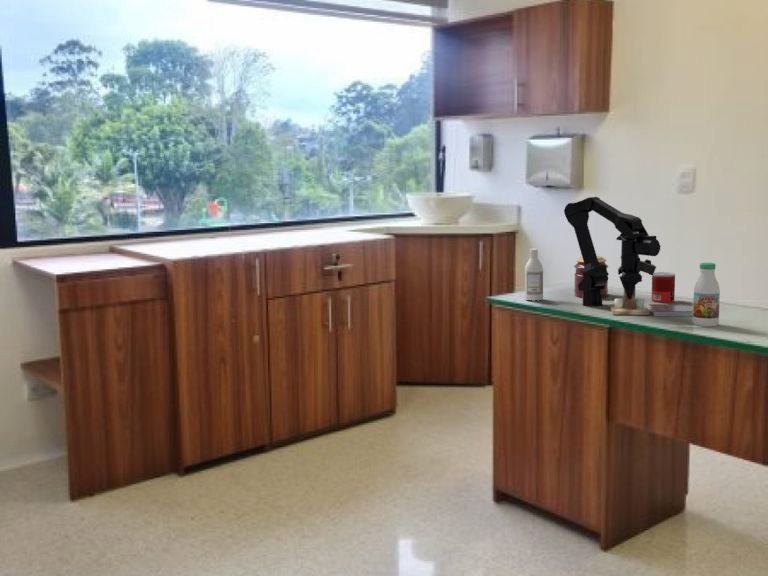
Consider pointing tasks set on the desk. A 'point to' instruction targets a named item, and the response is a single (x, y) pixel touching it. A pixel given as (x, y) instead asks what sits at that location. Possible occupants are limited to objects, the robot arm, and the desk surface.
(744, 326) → the desk surface
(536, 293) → the bath foam
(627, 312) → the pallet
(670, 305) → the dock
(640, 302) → the grey-green round cylinder
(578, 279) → the canister
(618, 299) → the white short cylinder
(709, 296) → the milk bottle
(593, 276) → the robot arm
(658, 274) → the canned food
